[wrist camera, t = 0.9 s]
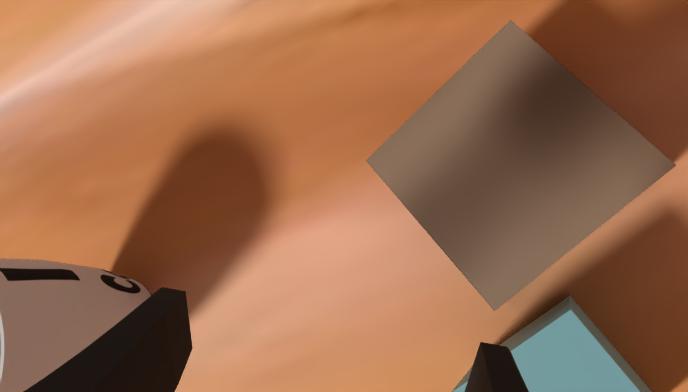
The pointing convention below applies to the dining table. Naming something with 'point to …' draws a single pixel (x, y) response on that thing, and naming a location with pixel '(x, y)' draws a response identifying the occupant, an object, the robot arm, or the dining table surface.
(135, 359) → the robot arm
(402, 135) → the brown block
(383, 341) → the dining table surface
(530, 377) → the teal block
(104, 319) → the cup
